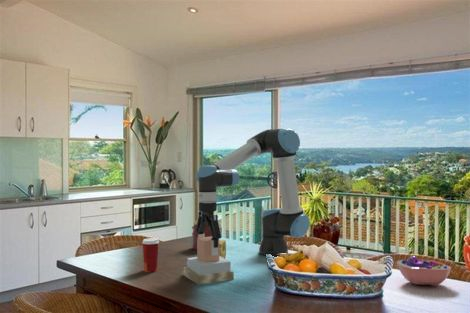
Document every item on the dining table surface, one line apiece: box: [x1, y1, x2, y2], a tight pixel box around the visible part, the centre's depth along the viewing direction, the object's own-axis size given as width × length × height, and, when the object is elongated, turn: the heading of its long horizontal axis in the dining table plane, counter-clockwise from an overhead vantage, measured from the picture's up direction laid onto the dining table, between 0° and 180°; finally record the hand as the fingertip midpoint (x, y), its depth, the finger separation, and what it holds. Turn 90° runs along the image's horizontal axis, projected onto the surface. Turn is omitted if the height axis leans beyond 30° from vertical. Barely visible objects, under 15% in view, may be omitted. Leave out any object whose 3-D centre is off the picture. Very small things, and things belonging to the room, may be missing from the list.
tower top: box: [186, 256, 232, 275], centre depth 194 cm, size 14×14×4 cm
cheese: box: [219, 239, 227, 259], centre depth 219 cm, size 10×11×10 cm
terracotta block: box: [196, 236, 220, 263], centre depth 193 cm, size 7×7×9 cm
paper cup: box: [141, 237, 160, 273], centre depth 204 cm, size 8×8×14 cm
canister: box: [191, 219, 212, 251], centre depth 250 cm, size 13×13×18 cm
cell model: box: [396, 255, 452, 287], centre depth 181 cm, size 17×20×11 cm
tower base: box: [182, 266, 235, 286], centre depth 193 cm, size 16×16×4 cm
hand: (208, 252), depth 193 cm, fingers open, 13 cm apart
